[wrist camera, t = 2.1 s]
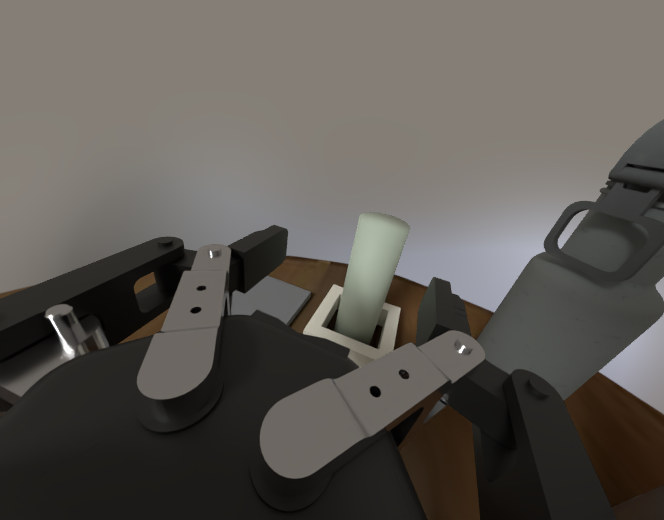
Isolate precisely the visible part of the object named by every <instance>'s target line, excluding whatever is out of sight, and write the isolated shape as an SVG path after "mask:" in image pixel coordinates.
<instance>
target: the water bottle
mask: <svg viewBox="0 0 664 520" xmlns="http://www.w3.org/2000/svg"><path fill="white" fill-rule="evenodd" d="M609 179H610V180H611V181H607V182H606V184H607V185H608V187H607V188H601V189H600V192H601V193H602V194H601V195H600V196H599V198H598V199H597V201H596V202H590V201H579V202H575V203H573V204H571V205H570V206H568V207H567V208H566V209H565V210H564V212H563V213H562V215H561V216H560V218H559V219H558V221H557V222H556V224H555V225H554V227H553V228H552V230H551V231H550V233H549V234H548V235H547V237H546V239H545V241H544V248H545V250H546V252H543V253H540V254H538V255H536V256H534V257H533V258H532V259H531V260H530V261H529V263H528V264H527V265H526V267H525V268H524V270H523V272H522V273H521V274H520V276H519V277H518V279H517V280H516V282H515V283H514V285H513V286H512V288H511V289H510V291H509V292H508V294H507V295H506V297H505V298H504V300H503V301H502V303H501V304H500V305H499V307H498V308H497V310H496V311H495V313H494V314H493V316H492V317H491V319H490V320H489V322H488V323H487V325H486V326H485V328H484V329H483V331H482V332H481V334H480V335H479V337H478V338H477V340H476V341H477V342H478V343H479V344H480V345H481V346H482V348H483V350H484V352H485V359H486V360H487V361H489V362H490V363H492V364H493V365H495V366H496V367H498V368H500V369H501V370H503V371H505V372H506V373H508V374H511V373H512V372H513V371H514V370H516V369H524V370H528V371H530V372H533V373H535V374H537V375H538V376H540V377H541V378H543V379H544V380H546V381H547V382H548V383H549V384H550V385H552V386H553V387H554V388H555V389H556V391H557V392H558V393H559V394H560V396H561V397H562V399H563V401H564V400H565V399H567V398H568V397H569V396H570V395H571V394H572V393H574V392H575V391H576V390H577V389H578V388H579V387H581V386H582V385H583V384H584V383H585V382H586V381H588V380H589V379H590V378H591V377H592V376H593V375H595V374H596V373H597V372H598V371H599V370H600V369H602V368H603V367H604V366H605V365H606V364H607V363H609V362H610V361H611V360H612V359H613V358H614V357H616V355H618V354H619V353H620V352H621V351H623V350H624V349H625V348H626V347H627V346H628V345H630V344H631V343H632V342H633V341H634V340H635V339H637V338H638V337H639V336H640V335H641V334H642V333H644V332H645V331H646V330H647V329H648V328H649V327H651V326H652V325H653V324H654V323H655V322H656V321H657V320H658V319H659V318H660V317H661V316H662V315H663V313H664V301H663V298H662V297H661V295H660V294H659V293H658V291H657V290H656V287H655V284H656V283H657V282H658V281H660V279H662V278H663V277H664V120H662V121H660V122H659V123H657V124H656V125H654V126H653V127H652V128H650V129H649V130H648V131H647V132H645V133H644V134H643V135H642V136H641V137H640V138H639V139H638V140H637V141H635V143H634V144H633V145H632V146H631V147H630V148H629V149H628V150H627V151H626V152H625V153H624V155H623V156H622V157H621V159H620V160H619V161H618V163H617V164H616V165H615V167H614V168H613V169H612V170H611V172H610V173H609ZM588 209H589V212H588V213H587V214H586V216H585V217H584V218H583V220H582V221H581V223H580V224H579V225H578V227H577V228H576V229H575V231H574V232H573V233H572V235H571V236H570V238H569V239H568V240H567V242H566V243H565V244H564V246H563V247H562V248H561V249H559V247H558V244H557V242H558V238H559V236H560V235H561V233H562V232H563V230H564V229H565V227H566V226H567V225H568V223H569V222H570V220H571V219H572V218H573V217H574V216H575V215H576V214H577V213H579V212H581V211H584V210H588Z"/></svg>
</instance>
